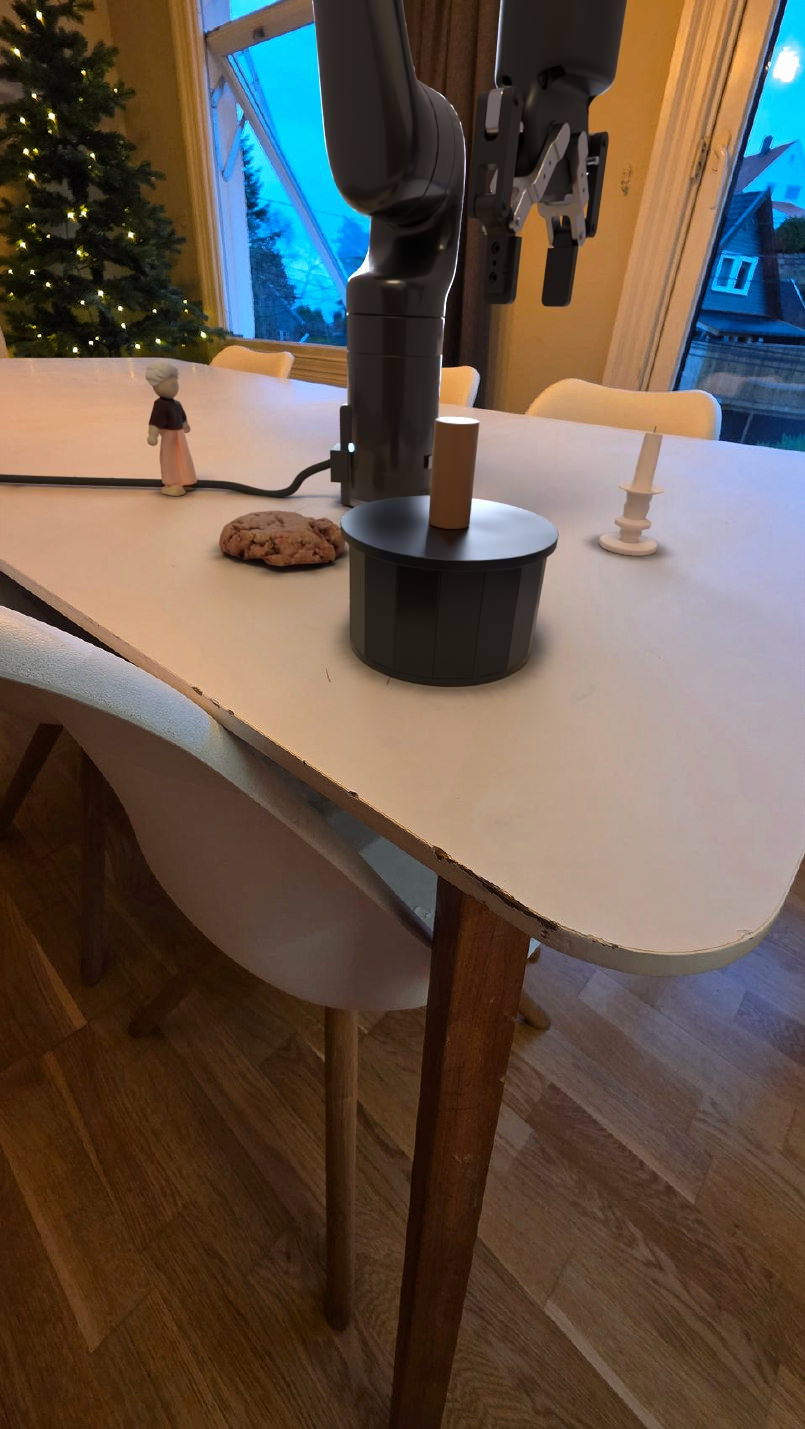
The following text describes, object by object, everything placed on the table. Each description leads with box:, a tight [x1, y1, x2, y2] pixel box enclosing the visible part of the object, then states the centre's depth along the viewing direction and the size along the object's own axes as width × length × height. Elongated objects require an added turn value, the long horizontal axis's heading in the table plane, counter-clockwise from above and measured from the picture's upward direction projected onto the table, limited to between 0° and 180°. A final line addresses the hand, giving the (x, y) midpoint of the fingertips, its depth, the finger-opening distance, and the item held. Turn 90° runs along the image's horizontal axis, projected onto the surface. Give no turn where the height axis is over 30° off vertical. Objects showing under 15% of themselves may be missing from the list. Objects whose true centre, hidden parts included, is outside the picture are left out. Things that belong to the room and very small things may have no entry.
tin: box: [348, 545, 548, 687], centre depth 39 cm, size 12×12×7 cm
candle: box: [598, 426, 665, 557], centre depth 56 cm, size 5×5×10 cm
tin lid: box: [339, 416, 560, 572], centre depth 35 cm, size 13×13×7 cm
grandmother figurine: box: [145, 358, 198, 497], centre depth 66 cm, size 8×4×13 cm, turn 179°
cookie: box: [218, 510, 346, 567], centre depth 53 cm, size 10×11×3 cm
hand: (528, 305), depth 46 cm, fingers open, 8 cm apart
